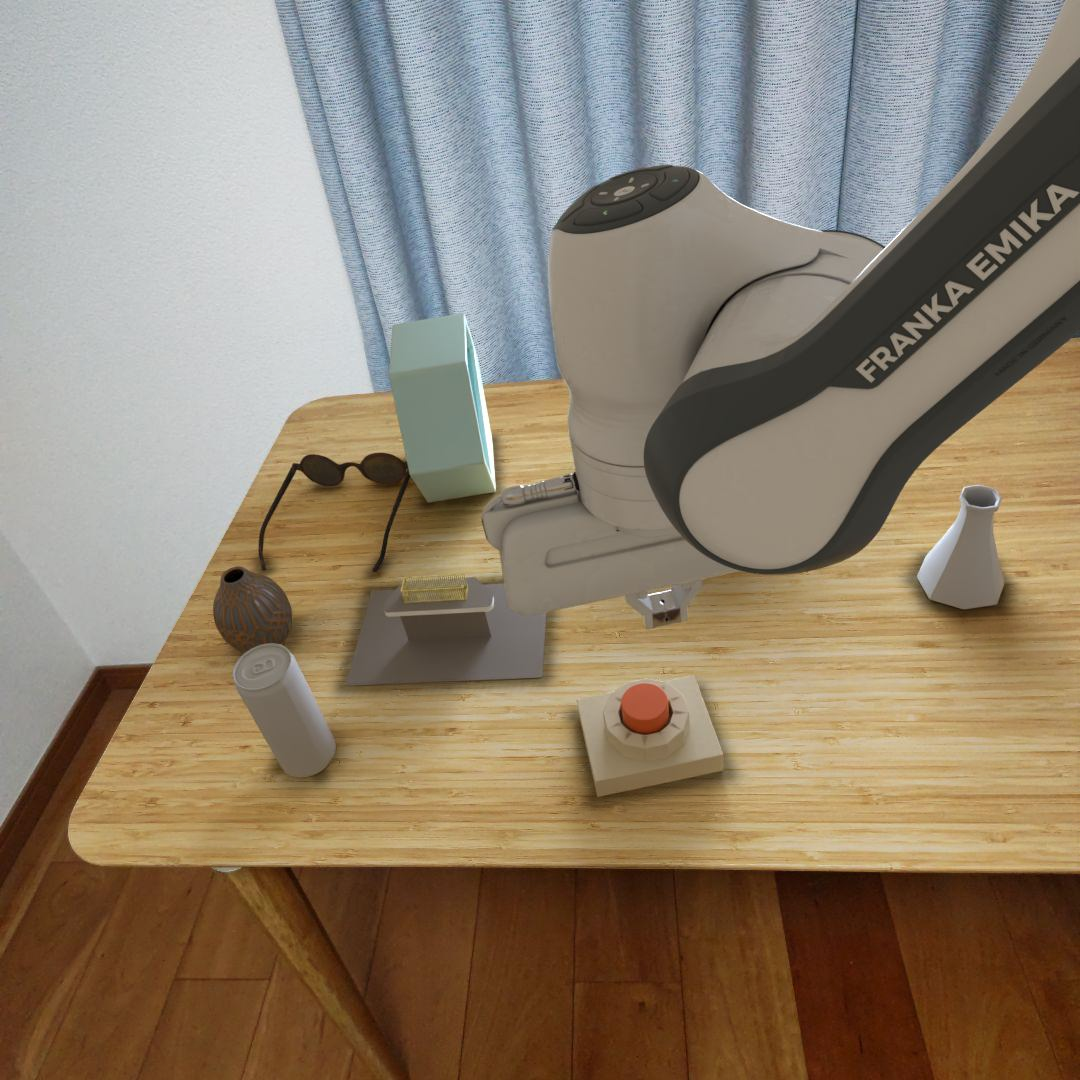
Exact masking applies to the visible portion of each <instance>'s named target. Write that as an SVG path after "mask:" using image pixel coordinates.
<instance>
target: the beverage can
mask: <svg viewBox="0 0 1080 1080" xmlns="http://www.w3.org/2000/svg"><path fill="white" fill-rule="evenodd" d="M232 680H233V684H234V687H235V690H236V692H237V693H238V695H239V697H240V699H241V700H242V702H243V704H244V705H245V708H246V709H247V710H248V712H249V714H250V716H251V718H252V719H253V721H254V723H255V724H256V726H257V728H258V730H259V732H260V734H261V735H262V736H263V738H264V740H265V741H266V744H267V745H268V747H269V749H270V751H271V752H272V754H273V755H274V757H275V759H276V761H277V762H278V765H279V766H280V768H281V769H282V770H283V772H285V774H287V775H289V776H291V777H295V778H308V777H312V776H315V775H317V774H320V773H321V772H322V771H323V770H325V769H326V768H327V767H328V766H329V765H330V763H331V762H332V760H333V758H334V756H335V754H336V749H337V742H336V739H335V737H334V735H333V733H332V731H331V729H330V727H329V725H328V723H327V721H326V719H325V717H324V715H323V713H322V711H321V708H320V706H319V704H318V702H317V700H316V698H315V696H314V694H313V692H312V690H311V688H310V686H309V684H308V681H307V680H306V678H305V676H304V674H303V671H302V670H301V668H300V666H299V663H298V661H297V660H296V658H295V655H293V654H292V652H291V651H290V650H289V649H288V648H287V647H286V646H284V645H282V644H281V645H280V644H275V643H269V644H263V645H259V646H256V647H254V648H252V649H250V650H249V651H247V652H246V653H242V655H241V656H240V657H239V658H238V659H237V660H236V662H235V664H234V666H233V669H232Z"/></svg>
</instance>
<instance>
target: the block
mask: <svg viewBox="0 0 1080 1080" xmlns="http://www.w3.org/2000/svg"><path fill="white" fill-rule="evenodd" d="M641 683H649V684H654V685H656V686H658V687H660V688H661V689H662V690H663V691H664V692H665V693H666V695H667V697H668V706H669V718H668V721H667V723H666V724H665V726H664V727H663V728H661V729H660V730H658V731H656V732H654V733H649V734H642V733H638V732H635V731H633V730H631V729H630V728H629V727H628V726H627V725H626V724H625V722H624V720H623V714H622V706H621V700H622V696H623V694H624V693H625V692H626V690H628V689H629V688H630V687H632V686H634V685H636V684H641ZM575 702H576V707H577V712H578V717H579V722H580V726H581V730H582V734H583V738H584V739H583V740H584V743H585V747H586V748H585V749H586V753H587V757H588V761H589V762H588V763H589V766H590V770H591V774H592V779H593V782H594V788H595V793H596V797H597V798H600V797H605V796H609V795H614V794H620V793H624V792H628V791H629V792H630V791H633V790H639V789H642V788H647V787H652V786H657V785H662V784H667V783H671V782H676V781H681V780H686V779H690V778H695V777H700V776H705V775H709V774H715V773H719V772H723V771H724V753H723V749H722V747H721V744H720V741H719V739H718V736H717V732H716V731H715V727H714V725H713V721H712V720H711V716H710V714H709V711H708V709H707V706H706V702H705V699H704V698H703V694H702V692H701V689H700V686H699V683H698V681H697V678H696V675H695V674H693V675H688V676H687V675H686V676H682V677H677V678H673V679H667V680H664V681H661V680H656V679H651V678H647V677H645V678H641V679H637V680H632V681H627V682H624V683H623V684H622V685H620V686H619V687H618V688H616V689H615V690H614V691H609V692H606V693H601V694H595V695H590V696H587V697H581V698H577V699H576V700H575Z"/></svg>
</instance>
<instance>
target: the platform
mask: <svg viewBox="0 0 1080 1080" xmlns="http://www.w3.org/2000/svg"><path fill="white" fill-rule="evenodd" d="M547 613H548V612H546V613H542V614H537V615H532V616H522V615H520V614H518V613H516V612H515V611H513V610H511V609H510V608H509V606H508V602H507V597H506V592H505V587H504V582H501V583H487V584H485V583H484V584H483V582H481V581H480V580H479V579H478V578H477V577H476V576H475V577H474V576H469V577H466V575H465V573H453V574H436V575H418V576H405V577H404V576H403V579H402V582H401V583H400V584H399V585H398V586H397V588H396V589H381V590H370V594H369V597H368V602H367V606H366V609H365V612H364V615H363V620H362V624H361V628H360V631H359V634H358V635H359V636H358V638H357V643H356V647H355V650H354V652H353V653H354V654H353V658H352V661H351V665H350V668H349V672H348V676H347V678H346V679H347V680H346V683H345V687H349V686H372V685H373V686H375V685H394V684H397V685H398V684H417V683H418V684H420V683H442V682H443V683H444V682H445V683H446V682H466V681H467V682H469V681H489V680H492V681H493V680H513V679H514V680H516V679H536V678H538V679H539V678H543V669H544V656H545V643H546V642H545V641H546V627H547Z"/></svg>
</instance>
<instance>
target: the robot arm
mask: <svg viewBox="0 0 1080 1080" xmlns="http://www.w3.org/2000/svg"><path fill="white" fill-rule="evenodd" d="M547 250H548V251H547V282H548V283H547V287H548V290H547V291H548V302H549V315H550V323H551V324H550V325H551V332H552V339H553V346H554V353H555V358H556V359H555V360H556V364H557V368H558V372H559V373H560V376H561V378H562V380H563V381H564V383H565V385H566V387H567V390H568V394H569V404H568V410H567V417H566V418H567V420H566V421H567V430H568V431H567V432H568V437H569V443H570V449H571V455H572V462H573V469H574V472H573V473H570V474H566V475H560V476H556V477H551V478H548V479H544V480H541V481H539V482H535V483H530V484H526V485H521V484H520V485H519V484H518V485H513V486H510V487H507V488H504V489H503V490H500V495H499V496H496V497H495V498H492V499H491V500H490V501H489V502H488V503H487V504H486V505H485V506H484V508H483V510H482V512H481V517H480V518H481V524H482V529H483V532H484V536H485V539H486V541H487V542H488V543H489V544H490V546H492V548H493V549H495V550H497V551H499V558H500V566H501V573H502V580H503V583H504V587H505V592H506V597H507V602H508V606H509V608H510V609H511V610H513V611H515V612H516V613H518V614H520V615H522V616H532V615H537V614H542V613H546V612H547V613H551V612H554V611H555V612H556V611H559V610H564V609H569V608H573V607H578V606H583V605H584V606H585V605H588V604H593V603H596V602H602V601H606V600H612V599H616V598H620V597H625V601H626V603H627V604H628V605H629V606H630V607H632V608H633V609H634V610H635V611H637V612H638V613H639V614H640V615H641V619H642V622H643V625H644V628H645V630H646V631H649V630H653V629H657V628H662V627H665V626H670V625H677V624H681V623H686V622H688V621H689V614H688V613H689V611H688V607H689V606H690V605H691V604H692V602H693V601H694V599H695V598H696V597H697V596H698V594H699V593H700V591H701V590H702V588H703V587H704V580H705V579H709V578H710V579H711V578H715V577H720V576H724V575H729V574H733V573H734V574H735V573H739V572H743V573H749V574H754V575H763V576H786V575H796V574H802V573H808V572H812V571H816V570H821V569H825V568H828V567H831V566H834V565H836V564H840V563H841V562H844V561H846V560H849V559H851V558H853V556H856V555H857V554H859V553H860V552H861V551H862V550H863V549H865V548H866V547H867V546H868V545H869V544H871V542H872V541H873V540H874V539H875V537H876V536H878V533H879V532H880V531H881V529H882V527H883V526H884V524H885V523H886V521H887V519H888V517H889V515H890V513H891V512H892V510H893V507H894V506H895V504H896V502H897V500H898V498H899V497H900V494H901V492H903V491H902V490H903V489H904V487H906V485H907V482H908V481H909V480H910V478H911V477H912V476H913V474H914V473H915V472H916V471H917V469H918V468H920V466H921V465H922V464H923V462H924V461H926V460H927V458H929V456H931V454H933V452H934V451H936V450H937V449H938V448H939V447H940V446H941V445H943V444H944V442H946V441H947V440H948V439H949V438H951V437H952V436H953V435H954V434H955V433H956V432H958V431H959V430H960V429H962V428H963V427H964V426H965V425H966V424H967V423H968V422H970V421H971V420H973V419H974V418H975V417H976V416H978V415H979V414H980V413H982V411H983V410H985V409H986V408H987V407H989V406H990V405H991V404H993V402H995V401H996V400H997V399H998V398H1000V397H1001V396H1002V395H1003V394H1004V393H1006V392H1007V391H1008V390H1010V389H1011V388H1012V387H1013V386H1015V385H1016V384H1017V383H1018V382H1020V381H1021V380H1022V379H1024V377H1026V376H1027V375H1028V374H1030V373H1031V372H1032V371H1033V370H1034V369H1036V368H1037V367H1038V366H1039V365H1041V364H1042V363H1043V362H1044V361H1046V359H1048V358H1049V357H1051V356H1052V355H1053V354H1054V353H1055V352H1056V351H1058V350H1059V349H1060V348H1062V347H1063V346H1064V345H1065V344H1066V343H1068V342H1069V341H1071V339H1073V338H1074V337H1075V336H1077V335H1078V334H1079V333H1080V0H1064V2H1063V4H1062V6H1061V9H1060V11H1059V12H1058V15H1057V17H1056V20H1055V22H1054V24H1053V26H1052V29H1051V30H1050V33H1049V34H1048V37H1047V39H1046V41H1045V43H1044V45H1043V47H1042V49H1041V51H1040V53H1039V55H1038V57H1037V59H1036V60H1035V62H1034V63H1033V66H1032V68H1031V69H1030V72H1029V73H1028V75H1027V76H1026V78H1025V80H1024V82H1023V83H1022V85H1021V87H1020V89H1019V90H1018V92H1017V93H1016V95H1015V97H1014V98H1013V100H1012V102H1011V103H1010V105H1008V108H1007V109H1006V111H1005V112H1004V114H1003V115H1002V116H1001V118H1000V119H999V120H998V122H997V124H996V125H995V127H993V129H992V131H991V132H990V133H989V135H988V136H987V137H986V139H985V140H984V141H983V143H982V144H981V145H980V146H979V147H978V149H977V150H976V151H975V153H974V154H973V155H972V156H971V158H969V160H967V162H966V163H965V165H963V167H962V168H961V169H960V170H959V171H958V172H957V173H956V174H955V175H954V176H953V177H952V178H951V179H950V180H949V182H948V183H947V184H946V185H945V186H944V187H943V188H942V189H941V190H940V191H939V192H938V193H937V194H936V195H935V196H934V197H933V198H932V199H931V200H930V201H929V202H928V203H927V204H926V205H925V207H924V208H922V209H921V210H920V211H919V213H918V214H917V215H916V216H915V217H914V218H912V220H911V221H909V223H907V225H905V227H904V228H903V229H902V230H901V231H900V232H899V233H898V234H897V235H896V236H895V237H894V238H893V239H892V240H891V241H890V242H889V243H888V245H886V246H885V245H883V244H882V243H880V242H878V241H876V240H874V239H873V238H870V237H867V236H865V235H862V234H858V233H855V232H852V231H847V230H838V229H820V230H819V229H813V228H809V227H806V226H805V227H804V226H801V225H797V224H795V223H791V222H788V221H784V220H781V219H778V218H775V217H773V216H769V215H768V214H765V213H762V212H759V211H757V210H756V209H753V208H750V207H748V206H746V205H745V204H742V203H741V202H739V201H737V200H735V199H734V198H732V197H730V196H728V195H727V194H726V193H725V192H723V191H722V190H721V189H720V188H719V187H718V186H717V185H716V184H715V183H713V181H712V180H711V179H710V178H709V177H708V176H707V175H705V173H703V172H702V171H699V170H697V169H696V168H693V167H689V166H685V165H684V166H683V165H673V164H657V165H656V164H655V165H650V166H645V167H639V168H635V169H631V170H629V171H625V172H621V173H618V174H616V175H613V176H611V177H609V179H606V180H604V181H602V182H600V183H598V184H595V185H593V186H591V187H590V188H588V189H587V190H586V191H585V192H583V193H582V194H581V195H580V196H579V197H577V198H576V199H575V200H574V201H573V202H572V203H570V205H569V206H568V208H566V210H565V211H564V212H563V213H562V214H561V216H560V217H559V218H558V220H557V222H556V223H555V224H554V226H553V227H552V229H551V232H550V236H549V241H548V249H547ZM668 587H671V589H667V590H664V591H660V592H654V593H648V592H650V591H655V590H659V589H664V588H668Z"/></svg>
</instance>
